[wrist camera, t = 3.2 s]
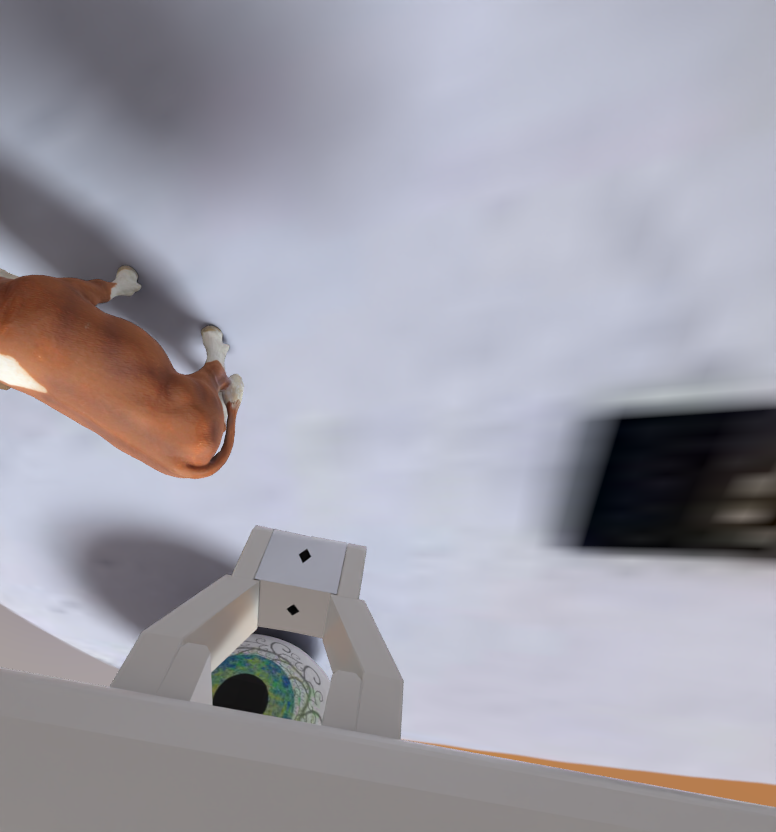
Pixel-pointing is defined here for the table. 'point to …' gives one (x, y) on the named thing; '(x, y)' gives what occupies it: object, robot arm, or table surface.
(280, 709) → the decorative object
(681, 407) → the table surface
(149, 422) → the bull figurine
